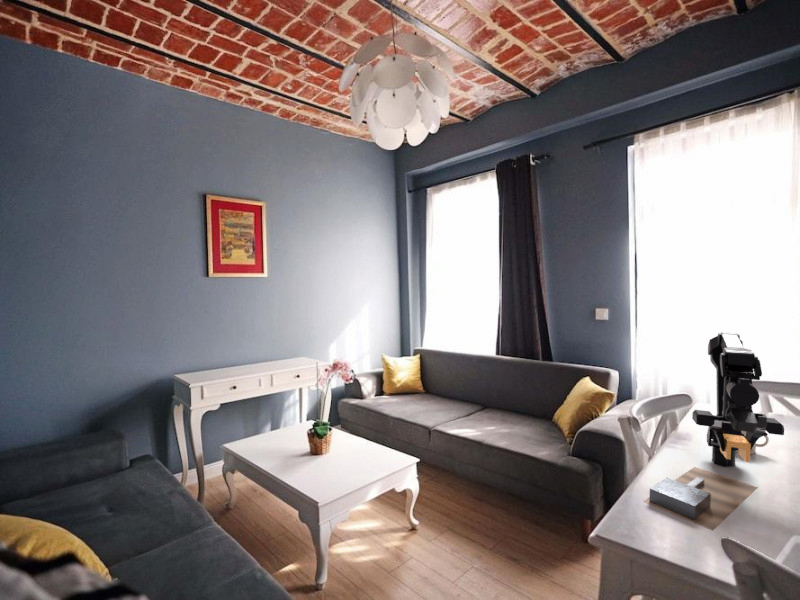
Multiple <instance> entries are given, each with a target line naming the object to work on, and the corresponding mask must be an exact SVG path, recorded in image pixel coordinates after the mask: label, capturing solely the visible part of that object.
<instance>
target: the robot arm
mask: <svg viewBox="0 0 800 600" xmlns="http://www.w3.org/2000/svg"><path fill="white" fill-rule="evenodd" d="M743 343H744V342H743V340H741V335H740V333H737V332H724V331H721V332H718V334H717V335H716V336H714V337H713V338H711V339H710V338H709V341H708V344H707V355H708V356H710V357H709V358H710V363H712V365H713V366H714V368H715V369H716V415H713V413H712V412H711V411H710V410H702V409H701V410H700V409H694V410H693V411H692V415H691V416H692V420H693V421H694V423H695V424H696V425H698V426H705V427H708V428H707V433H706V443H707V445H708V447H712V448H711V449H712V450H711V461H712V463H713V464H714V465H716V466H719V467H722V468H726V467H731V468H732V467H735V466H736V458H737V457H736V454H737V452H736V451H738V448H736V447H731V460H730V459H726V458H725V456H724V455H723V454H722V453H721V451H720V448H721V450H722V451H724V435H723V434H731V435H739V436H743V437H744V438H745V439H746V440H747V441H748V442H749V443H750V444H751V448H750V451H751V449H752V448H753V446H754V444H755V442H756V443H757V441H758V440H759V439H760V438H762V437H764V436H768V435H769V434H771V435H779V436H784V435H785V427H784V425H783V424H782V423H781V422H779V421H778V420H777V419H775V418H773V417H767V415H766V413H759V412H757V413H756V412H754V411H753V405H755V404H756V403H758V401H759V400H760V393H759V391H758V390H757V387H755V386H754V385H753V380H754V381H760V380H761V377H762V375H763V372H762V366H761V360H760V359H759V357H758V356H757V355H755V352H754V351H752V350H751V349H748V348H744V344H743ZM741 431H746V437H745V436H744V433H743V432H741Z"/></svg>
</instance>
